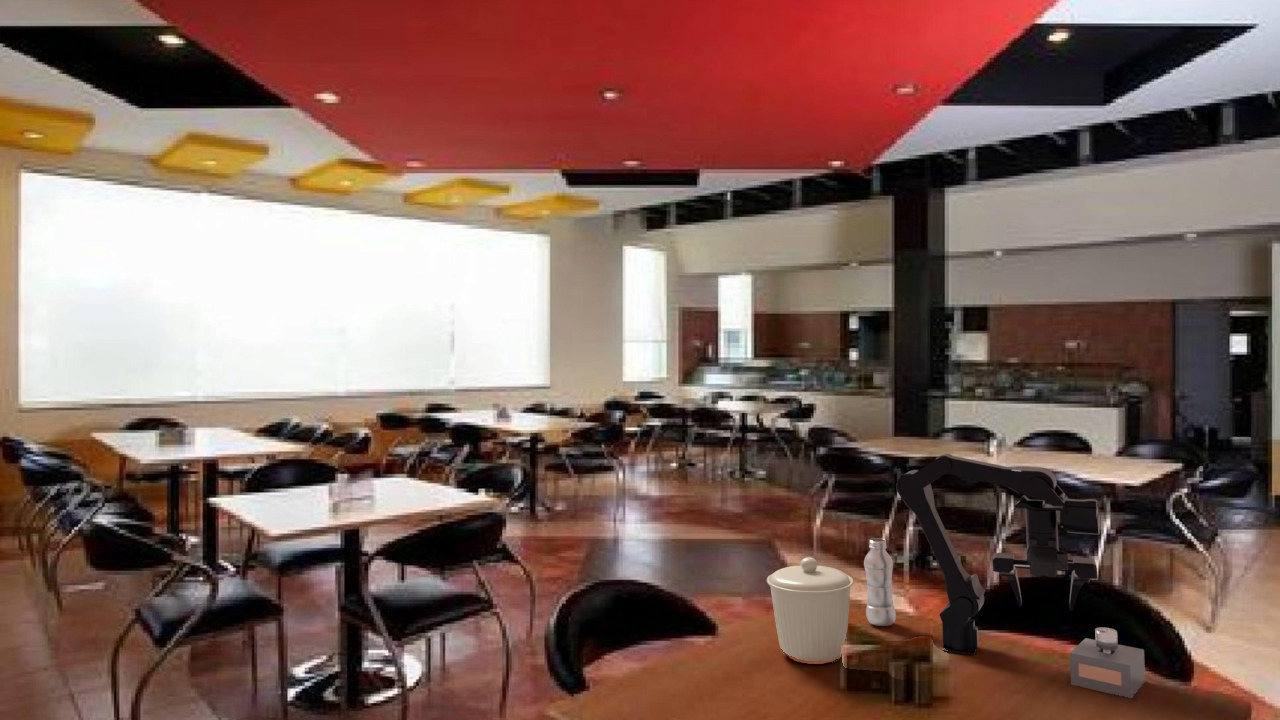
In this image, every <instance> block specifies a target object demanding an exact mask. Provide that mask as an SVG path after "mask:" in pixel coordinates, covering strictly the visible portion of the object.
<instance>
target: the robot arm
mask: <svg viewBox="0 0 1280 720" xmlns="http://www.w3.org/2000/svg"><path fill="white" fill-rule="evenodd" d="M945 475H950V476H956V477H959V478H964V479H970V480H975V481H980V482H984V483H989V484H994V485H997V486H1003V487H1005V488H1008V489H1010V490H1012V491H1014V492H1016V493H1017V494H1021V495H1022V496H1021V498H1020V500H1018V501H1017V502H1016V503H1015V504H1014V508H1015V509H1021V510H1022V509H1024V510H1025V511H1024V512H1025V529H1026V530H1025V531H1026V558H1015V553H1009V552H1008V553H1006V552H996V553H994V554H993V557H992V572H995V573H999V575H1000V576H1001V577H1005V579H1006V580H1007V581H1008V583H1009V584H1010V586H1011V589H1012V590H1013V594H1014V595H1015V599H1016V601H1017V604H1018V606H1019V607H1022V595H1021V588H1020V581H1019V576H1018V570H1017V569H1028V570H1029V573H1030V574H1031V575H1032V576H1034V577H1039V576H1044V577H1045V576H1046V577H1051V578H1055V577H1057V576H1058V573H1059V572H1068V573H1070V572H1071V580H1070V591H1069V592H1070V593H1069V610H1070V611H1073V610H1074V606H1075V604H1076V601H1077V597H1078V594H1079V592H1080V590H1081V588H1082V586H1083V585H1084V583H1090V582H1091V579H1093V580H1095V579H1098V567H1097V562H1096V561H1095V560H1094V559H1093V558H1092V557H1091V558H1089V557H1075V556H1073V557H1072V561H1069V558H1068V557H1069V556H1068V551H1067V550H1060V549H1059V530H1058V512H1057V511H1059V524H1060V528H1063V530H1066V533H1069V534H1083V535H1097V536H1100V533H1101V529H1100V528H1101V524H1100V523H1101V521H1100V520H1101V519H1100V518H1101V517H1100V514H1099V508H1098V500H1097V499H1095V498H1093V499H1092V498H1087V499H1077V498H1076V499H1074V498H1069V497H1068V496H1067V495H1066V494H1065V492H1064V491H1063V489H1061V488H1060V486H1059V485H1058V483H1057V478H1056V475H1055V474H1054V473H1053V472H1052V470H1050V469H1049V468H1046V467H1037V466H1006V465H1005V466H1004V465H1000V464H995V463H991V462H985V461H981V460H980V461H979V460H975V459H970V458H966V457H960V456H956V455H952V454H950V453H944V454H943V453H942V454H940V455H939V456H937V457H936V458H935V459H934V460H933V461H931V462H930V463H928V464H927V465H925V466H924V467H922V468H921V469H913V470H912V469H911V470H910V471H907V472H906V473H904V474H902V475H901V476H900V477H899V478H898V479H897V480H896V484H895V488H896V492H897V494H898V495H899V496H900V498H901V499H902V501H903V503H904V504H905V506H906V507H907V508H908V509H910V510H911V512H913V513H914V515H915V517H916V518H917V520H918V523H919V525H920V527H921V530H922V531H923V533H924V536H925V537H926V541H927V542H928V544H929V546H930V549H931V550H932V552H933V555H934V557H935V559H936V561H937V563H938V566H939V568H940V570H941V572H942V574H943V577H944V581H945V590H946V596H947V599H948V602H947V604H946V605H945V607H944V608H943V609H942V610H941V611H940V613H939V618H940V620H941V625H942V628H941V629H942V646H941V649H942V648H945V649H946V650H948V651H950V652H949V653H955V654H961V655H962V654H963V655H971V656H972V655H973V656H974V655H975V654H976V650H978V649H979V628H978V626H976V625H975V618H974V617H975V616H976V615H977V614H978V613H979V611H980V610H981V608H982V607H983V605H984V602H985V596H984V594H985V592H986V589H985V588H983V586H982V584H981V582H980V579H979V576H978V574H977V573H974V574H972V575H971V574H969V572H968V571H966V569H965V568H964V566H963V564H962V561H961V560H960V558H959V555H958V554H957V551H956V549H955V547H954V545H953V542H952V541H951V538H950V536H949V535H948V532H947V530H946V528H945V526H944V524H943V522H942V520H941V517H940V516H939V513H938V511H937V508H936V505H935V504H936V503H935V497H934V496H935V495H934V491H933V488H932V483H933V482H935V481H937V480H938V479H940V478H941V477H943V476H945ZM1029 498H1031V499H1029ZM1046 503H1047V504H1046ZM1058 571H1059V572H1058Z"/></svg>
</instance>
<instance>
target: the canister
mask: <svg viewBox="0 0 1280 720" xmlns="http://www.w3.org/2000/svg"><path fill="white" fill-rule="evenodd" d="M766 583H767V585H768V586H769V587H770V592H771V599H772V606H773V612H774V613H773V615H774V621H775V628H776V632H777V639H778V644H779V647H780V650H781V649H782V650H783V652H785V653H786V654H788V655H789V656H792V657H795V658H797V659H801V660H806V661H832V660H835V659H838V658H839V657H840V652H841V646H842V644H843V643H844V641H845V639H846V640H847V637H846V633H847V634H848V626H849V611H850V600H851V599H850V597H851V596H850V595H851V588H852V586H853V585H854V579H853V578H852V576H850V575H848V574H846V573H845V572H843V571H842V570H840V569H837V568H834V567H829V566H823V565H818V561H817V560H816V559H815V558H814V557H809V556H808V557H804V558H803V559H801V561H800V565H792V566H786V567H782V568H780V569H777V570H776V571H775V572H773V573H771V574H770V575H768V576H767V578H766ZM782 650H781V651H782ZM783 652H782V653H783ZM839 659H840V658H839ZM839 659H838V660H839Z"/></svg>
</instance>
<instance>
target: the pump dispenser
mask: <svg viewBox="0 0 1280 720" xmlns="http://www.w3.org/2000/svg"><path fill="white" fill-rule="evenodd" d="M1069 665H1070V666H1069V667H1070V684H1071V685H1072V686H1076V687H1081V688H1084V689H1089V690H1094V691H1098V692H1102V693H1106V694H1109V695H1114V694H1115V696H1118V695H1119V697H1122V696H1124V697H1123V698H1127V697H1128V698H1127V699H1131V698H1132V699H1133V697H1134V696H1135V695H1136V693H1137V692H1138V691H1139V690H1140V689H1141V687H1142V686H1143V685H1144V683H1145V682H1146V670H1145V666H1146V665H1145V649H1143V648H1137V647H1133V646H1129V645H1128V646H1127V645H1123V644H1118V649H1116V650H1111V654H1107V653H1103V649H1101V648H1098V647H1097V646H1096V639H1091V638H1086V637H1085V638H1084V639H1083V640H1082V641H1081V642H1079V644H1078V645H1077V646H1075V647H1074V648H1073V649H1072V650H1071V651H1070V652H1069ZM1142 684H1143V685H1142ZM1138 689H1139V690H1138ZM1134 694H1135V695H1134Z"/></svg>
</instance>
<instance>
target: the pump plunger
mask: <svg viewBox="0 0 1280 720" xmlns="http://www.w3.org/2000/svg"><path fill="white" fill-rule="evenodd" d="M1094 631H1095V632H1094V633H1095V638H1094V640H1096V646H1097V647H1098V648H1101V649H1103V653H1107V654H1111V650H1116V649H1118V645H1119V644H1118V631H1117V630H1116V629H1114V628H1111V627H1110V628H1109V627H1096V628H1095V629H1094Z"/></svg>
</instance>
